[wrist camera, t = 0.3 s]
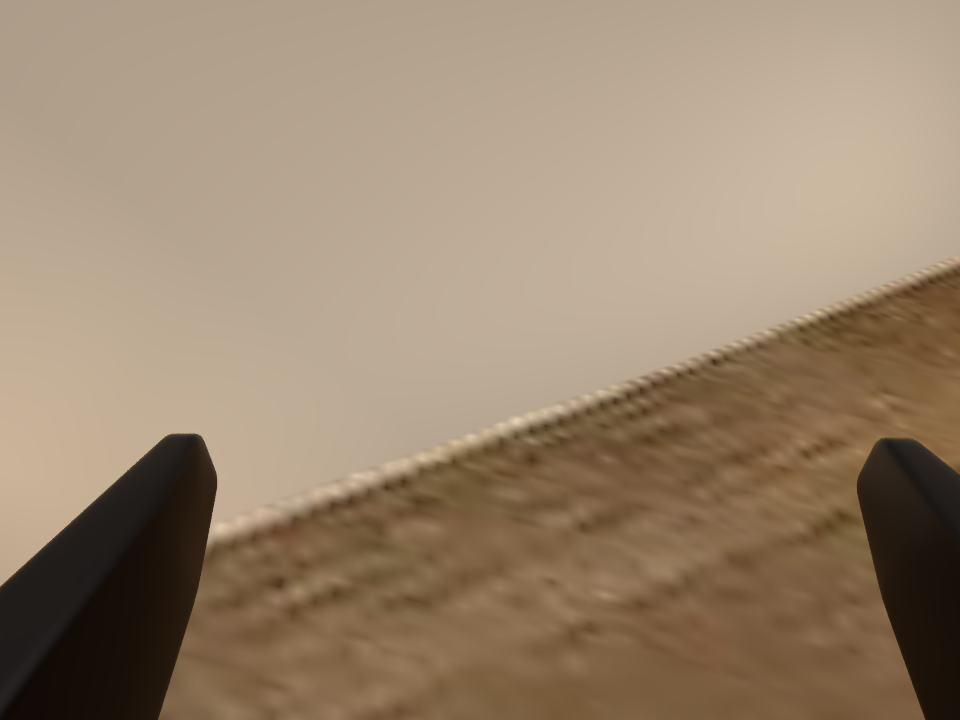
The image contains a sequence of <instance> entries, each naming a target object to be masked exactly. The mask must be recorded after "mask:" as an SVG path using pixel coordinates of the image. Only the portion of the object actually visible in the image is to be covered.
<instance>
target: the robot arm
mask: <svg viewBox="0 0 960 720" xmlns="http://www.w3.org/2000/svg"><path fill="white" fill-rule="evenodd" d="M216 491H217V475H216V471H215V468H214V465H213V463H212V460H211V458H210V455H209V452H208V450H207V447H206V445H205V442H204V440H203V438H202V437H201V436H200V435H198V434H170V435H168V436H166V437H165V438H163V439H162V440H161V441H160V442H159V443H158V444H157V445H156V446H155V447H153V448H152V449H151V450H150V451H149V452H148V453H147V454H146V455H144V457H142V458H141V459H140V460H139V461H138V462H137V463H136V464H135V465H133V466H132V467H131V468H130V469H129V470H128V471H127V472H126V473H125V474H124V475H123V476H121V477H120V478H119V479H118V480H117V481H116V482H115V483H114V484H113V485H111V486H110V487H109V488H108V489H107V490H106V491H105V492H104V493H103V494H102V495H100V496H99V497H98V498H97V499H96V500H95V501H94V502H93V503H92V504H91V505H90V506H88V507H87V508H86V509H85V510H84V511H83V512H82V513H81V514H80V515H79V516H77V517H76V518H75V519H74V520H73V521H72V522H71V523H70V524H69V525H67V526H66V527H65V528H64V529H63V530H62V531H61V532H60V533H59V534H58V535H57V536H55V537H54V538H53V539H52V540H51V541H50V542H49V543H48V544H47V545H46V546H44V547H43V548H42V549H41V550H40V551H39V552H38V553H37V554H36V555H35V556H33V557H32V558H31V559H30V560H29V561H28V562H27V563H26V564H25V565H24V566H22V567H21V568H20V569H19V570H18V571H17V572H16V573H15V574H14V575H12V577H10V578H9V579H8V580H7V581H6V582H5V583H4V584H3V585H1V586H0V720H158V718H159V715H160V712H161V708H162V705H163V702H164V699H165V695H166V692H167V689H168V686H169V683H170V679H171V676H172V673H173V670H174V666H175V663H176V660H177V657H178V654H179V650H180V647H181V644H182V641H183V637H184V634H185V631H186V628H187V625H188V621H189V618H190V615H191V612H192V608H193V605H194V601H195V598H196V594H197V590H198V586H199V581H200V576H201V571H202V566H203V560H204V555H205V550H206V544H207V539H208V534H209V528H210V523H211V517H212V512H213V506H214V501H215V496H216ZM857 494H858V499H859V503H860V507H861V512H862V516H863V520H864V524H865V529H866V533H867V537H868V541H869V546H870V550H871V554H872V559H873V563H874V567H875V571H876V576H877V580H878V584H879V588H880V591H881V595H882V599H883V602H884V605H885V608H886V611H887V614H888V617H889V620H890V623H891V625H892V628H893V631H894V634H895V636H896V639H897V642H898V645H899V648H900V650H901V653H902V656H903V659H904V662H905V664H906V667H907V670H908V673H909V675H910V678H911V681H912V684H913V687H914V689H915V692H916V695H917V698H918V701H919V703H920V706H921V709H922V712H923V714H924V717H925V720H960V474H958V473H957V472H956V471H955V470H953V469H952V468H951V467H950V466H948V465H947V464H946V463H945V462H943V461H942V460H941V459H939V458H938V457H937V456H936V455H934V454H933V453H932V452H931V451H929V450H928V449H927V448H926V447H924V446H923V445H922V444H921V443H919V442H918V441H916V440H914V439H911V438H881V439H880V440H879V441H877V442H876V444H875V445H874V447H873V449H872V451H871V453H870V455H869V457H868V459H867V461H866V463H865V465H864V467H863V468H862V470H861V472H860V474H859V477H858V481H857Z"/></svg>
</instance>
